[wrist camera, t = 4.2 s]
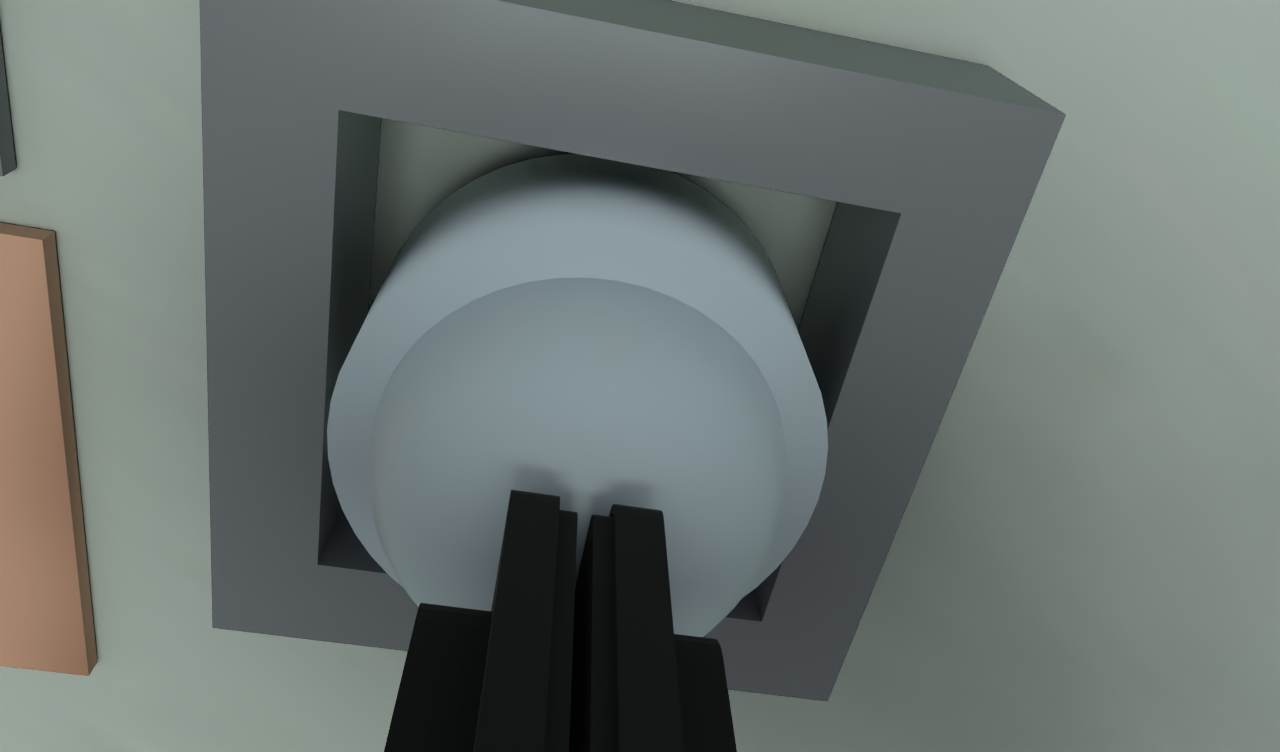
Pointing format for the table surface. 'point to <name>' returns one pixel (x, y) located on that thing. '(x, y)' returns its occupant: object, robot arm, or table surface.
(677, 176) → the dome
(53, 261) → the game track
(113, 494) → the table surface
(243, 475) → the grey hollow frame
